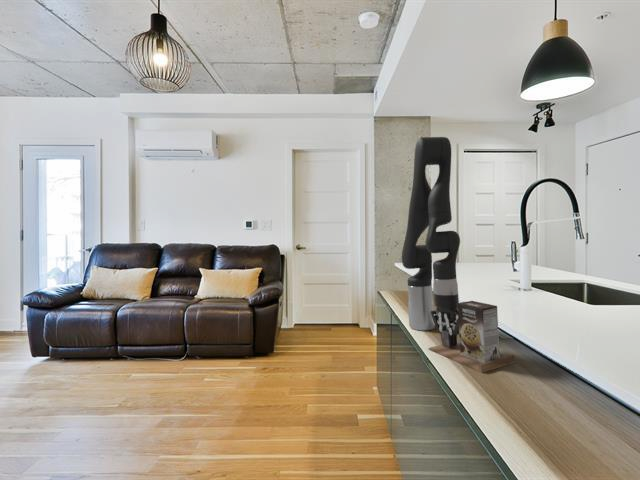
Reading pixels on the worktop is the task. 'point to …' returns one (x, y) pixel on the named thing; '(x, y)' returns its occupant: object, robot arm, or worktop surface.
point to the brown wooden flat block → (454, 354)
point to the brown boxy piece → (478, 331)
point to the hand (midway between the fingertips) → (449, 343)
